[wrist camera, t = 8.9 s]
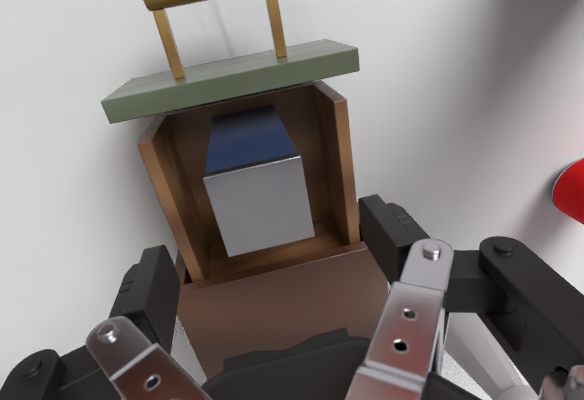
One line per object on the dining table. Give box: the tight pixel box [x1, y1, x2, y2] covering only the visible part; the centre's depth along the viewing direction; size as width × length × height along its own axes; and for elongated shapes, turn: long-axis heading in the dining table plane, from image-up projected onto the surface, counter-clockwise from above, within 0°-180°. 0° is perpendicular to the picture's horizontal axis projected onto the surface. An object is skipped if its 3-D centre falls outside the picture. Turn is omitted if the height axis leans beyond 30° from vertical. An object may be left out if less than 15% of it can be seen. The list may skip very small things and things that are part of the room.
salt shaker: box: [444, 313, 538, 400], centre depth 36 cm, size 6×6×13 cm
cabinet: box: [175, 203, 388, 380], centre depth 31 cm, size 16×15×9 cm
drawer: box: [101, 0, 360, 282], centre depth 24 cm, size 20×14×7 cm
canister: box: [203, 105, 315, 257], centre depth 22 cm, size 4×4×10 cm
